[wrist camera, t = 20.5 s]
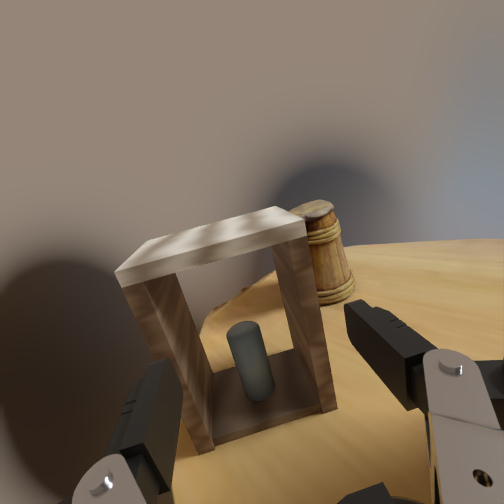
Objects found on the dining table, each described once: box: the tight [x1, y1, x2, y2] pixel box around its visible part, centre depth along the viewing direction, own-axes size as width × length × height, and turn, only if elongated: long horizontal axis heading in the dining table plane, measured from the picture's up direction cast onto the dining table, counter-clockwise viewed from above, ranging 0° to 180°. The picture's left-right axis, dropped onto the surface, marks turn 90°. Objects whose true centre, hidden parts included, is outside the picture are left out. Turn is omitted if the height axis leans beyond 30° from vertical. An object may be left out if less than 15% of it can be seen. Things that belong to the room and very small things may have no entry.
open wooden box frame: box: [115, 206, 338, 455], centre depth 39 cm, size 22×14×30 cm, turn 99°
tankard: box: [289, 200, 355, 305], centre depth 66 cm, size 18×24×25 cm
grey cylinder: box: [227, 321, 275, 401], centre depth 41 cm, size 6×6×12 cm
